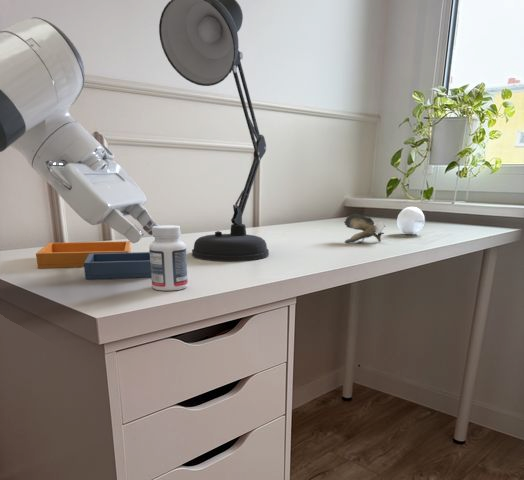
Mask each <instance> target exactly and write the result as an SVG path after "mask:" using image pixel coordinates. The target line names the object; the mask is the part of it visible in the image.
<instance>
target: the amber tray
mask: <svg viewBox="0 0 524 480" xmlns="http://www.w3.org/2000/svg"><path fill="white" fill-rule="evenodd" d="M91 253H132V247H131V242H130V241H129V240H125V241H120V240H119V241H118V240H117V241H77V242H76V241H75V242H74V241H73V242H71V241H70V242H66V241H65V242H48V243H47V244H45V245H44V246H43V247H41V248H40V249H39V250H38V251H37V252H36V253H35V258H36V266H37V269H64V268H67V269H68V268H84V262H85V260H86V259H87V257H88V255H89V254H91Z"/></svg>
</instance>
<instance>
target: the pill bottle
mask: <svg viewBox="0 0 524 480" xmlns="http://www.w3.org/2000/svg"><path fill="white" fill-rule="evenodd" d="M158 225H159V226H153V227H152V235H151V236H152V237H153V238H154V241H152V242H150V243H149V247H148V248H149V249H148V250H149V251H148V252H150V265H151V277H150V278H151V287H152V288H153V289H154V290H157V291H162V292H164V291H165V292H168V291H180V290H183V289H184V290H185V289H186V288H187V287H188V285H189V280H188V279H189V278H188V262H187V261H188V260H187V245H186V243H185V242H184V241H183V240H180V239H181V236H182V233H181V226H180V225H173V224H162V225H160V224H158Z"/></svg>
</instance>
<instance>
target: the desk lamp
mask: <svg viewBox="0 0 524 480" xmlns="http://www.w3.org/2000/svg"><path fill="white" fill-rule="evenodd" d="M243 19H244V15H243V10H242V7H241V5H240V3H239V2H238V1H237V0H169V1H168V2H167V4H166V5H165V6H164V7H163V10H162V11H161V15H160V18H159V24H158V35H159V41H160V44H161V45H160V46H161V49H162V50H163V54H164V56H165V57H166V59H167V61H168V63H169V64H170V66H171V67H172V68H173V70H175V72H176V73H177V74H179V75H180V76H181V77H182V78H183V79H184V80H186V81H188V82H190V83H192V84H194V85H197V86H201V87H210V86H211V87H212V86H215V85H218V84H220V83H222V82H223V81H225V80H226V79H227V77H228V76H229V74H231V73H232V75H233V78H234V81H235V86H236V89H237V93H238V95H239V99H240V100H239V101H240V103H241V107H242V110H243V114H244V118H245V121H246V126H247V128H248V132H249V136H250V138H251V139H250V140H251V143H252V146H253V149H254V150H253V161H252V164H251V167H250V169H249V173H248V175H247V179H246V182H245V185H244V188H243V189H242V191H241V193H240V194H239V196H238V198H237V200H236V201H235V204H233V205H232V208H233V214H232V218H231V219H230V222H231V225H230V233H223V232H222V231H219V230H217V231H215V232H214V233H213V234H206V235H202V236H200V237H198V238H197V239H196V240H195V241H194V244H193V249H192V250H191V256H192V257H193V258H195V259H198V260H204V261H205V260H206V261H214V262H246V261H255V260H256V261H257V260H261V259H265V258H268V257H269V255H270V253H269V252H270V250H269V249H268V246H267V243H266V239H264V238H263V237H260V236H257V235H255V234H254V235H253V234H247V227H246V224H244V223H243V214H244V211H245V209H246V205H247V201H248V200H249V196H250V193H251V190H252V187H253V184H254V181H255V178H256V175H257V172H258V169H259V166H260V163H261V160H262V158H263V157H264V155H265V154H266V151H267V142H266V139H265V135H263V134H261V133H260V130H259V127H258V122H257V119H256V115H255V111H254V108H253V103H252V100H251V96H250V92H249V88H248V84H247V81H246V76H245V73H244V69H243V66H242V62H241V60H243V58H244V54H243V52H242V51H240V50H239V47H240V46H239V34H238V33H239V31H240V30H241V28H242V25H243ZM237 69H238V70H237ZM238 73H239V75H238ZM239 77H240V79H239ZM240 80H241V83H240ZM241 84H242V86H241ZM242 88H243V89H242ZM243 91H244V93H243ZM244 95H245V97H244ZM245 98H246V101H245ZM246 102H247V104H246ZM247 105H248V108H247ZM248 109H249V112H248ZM249 113H250V115H249Z"/></svg>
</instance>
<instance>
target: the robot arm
mask: <svg viewBox="0 0 524 480" xmlns="http://www.w3.org/2000/svg"><path fill="white" fill-rule="evenodd" d="M84 84H85V67H84V62H83V59H82V56H81V54H80V52H79V51H78V48H77V47H76V46H75V45H74V43H73V42H72V40H71V39H70V38H69V37H68V36H67V35H66V33H64V31H62V29H60V28H59V27H58V26H57V25H56V24H53V23H52V22H50V21H48V20H46V19H44V18H41V17H37V16H36V17H35V16H33V17H31V18H28V19H25V20H21V21H19V22H17V23H15V24H13V25H11V26H8V27H6V28H4V29H2V30H0V153H2V152H4V151H5V150H7V148H9V147H11V148H13V149H14V150H16V151H18V152H19V153H20V154H22V156H23V157H24V158H25V160H27V161H26V162H27V163H28V164H29V166H30V167H31V168H32V169H33V170H34V171H35V172H36V173H37V174H38V175H39V176H40V177H42V179H44V180H45V181H46V182H47V183H48V184H49V185H50V187H52V188H53V189H54V190H55V192H56V193H57V194H58V195H59V196H60V197H61V198H62V199H63V201H64V202H65V203H66V204H67V205H68V206H69V207H70V208H71V209H72V210H73V211H74V212H75V214H77V215H78V216H79V217H80V218H81V219H82V220H83V221H85V222H86V223H88V224H89V225H91V226H96V225H101V224H104V223H105V224H106V225H107V226H109V228H110V229H112V230H113V231H115V232H117V233H119V234H120V235H122V236H124V237H125V238H126V239H127V241H130V244H136V243H138V242H139V241H140V240H141V239H142V238H143V237H144V235H145V234H144V232H143V230H144V231H145V232H146V233H147V234H148V235H149V236H153V235H152V227H153V226H159V225H160V224H158V223H157V222H156V221H155V219H153V217H152V216H151V214H150V212H149V211H148V209H147V208H146V207H145V206H144V205H145V204H146V203H147V200H148V198H147V196H146V194H145V193H144V191H143V190H142V189H141V188H140V186H139V185H138V183H136V182H135V180H134V179H132V178H131V176H130V175H129V173H127V172H126V171H125V169H124V168H123V167H122V166H121V165H120V164H119V163H117V162H116V161H115V160H114V159H115V158H116V155H115V154H114V152H112V151H111V150H110V148H108V147H106V146H105V145H104V144H102V143H100V142H99V141H98V140H97V139H96V138H95V137H94V136H93V135H92V134H91V133H90V132H89V131H88V130H87V129H86V128H84V127H83V126H82V124H81V123H80V122H79V121H78V120H76V119H74V118H73V117H72V115H71V114H70V108H71V106H73V105H74V104H75V102H76V101H77V100H78V98H79V97H80V95H81V94H82V91H83V89H84ZM129 216H131V218H133V219H134V220H136V221H137V222H138V223H139V225H141V227H142V229H143V230H141V229H140V228H139V227H138V225H136V224H133V223H132V222H131V221H130V220H129V219H127V217H129Z"/></svg>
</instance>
